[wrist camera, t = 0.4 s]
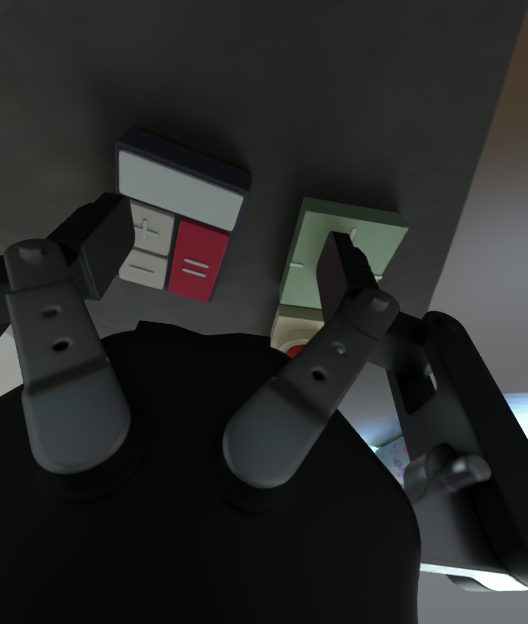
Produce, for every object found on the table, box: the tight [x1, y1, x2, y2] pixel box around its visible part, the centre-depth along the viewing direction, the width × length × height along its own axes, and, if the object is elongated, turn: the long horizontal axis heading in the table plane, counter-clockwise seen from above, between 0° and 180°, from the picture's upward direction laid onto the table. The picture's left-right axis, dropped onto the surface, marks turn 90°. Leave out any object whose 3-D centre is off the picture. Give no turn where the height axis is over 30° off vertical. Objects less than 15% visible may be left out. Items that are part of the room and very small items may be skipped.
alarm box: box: [270, 305, 324, 354], centre depth 42 cm, size 11×9×4 cm
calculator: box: [115, 127, 252, 302], centre depth 29 cm, size 11×4×15 cm
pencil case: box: [375, 436, 410, 488], centre depth 67 cm, size 21×9×10 cm, turn 163°
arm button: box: [287, 344, 305, 358], centre depth 40 cm, size 4×4×2 cm
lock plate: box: [279, 197, 408, 309], centre depth 32 cm, size 12×10×3 cm
